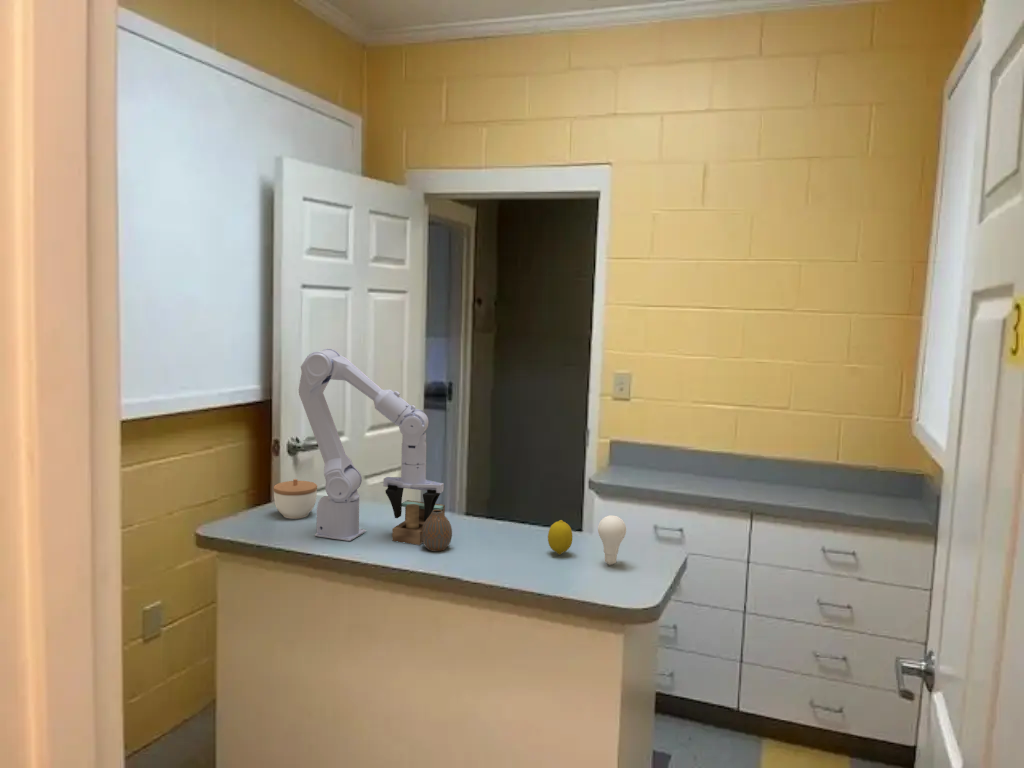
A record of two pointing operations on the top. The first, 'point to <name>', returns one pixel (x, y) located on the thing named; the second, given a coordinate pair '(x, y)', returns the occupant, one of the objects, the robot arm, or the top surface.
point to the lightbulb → (611, 536)
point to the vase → (436, 531)
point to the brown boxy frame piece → (412, 535)
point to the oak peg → (412, 516)
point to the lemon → (560, 537)
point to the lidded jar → (295, 498)
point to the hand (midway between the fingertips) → (412, 519)
